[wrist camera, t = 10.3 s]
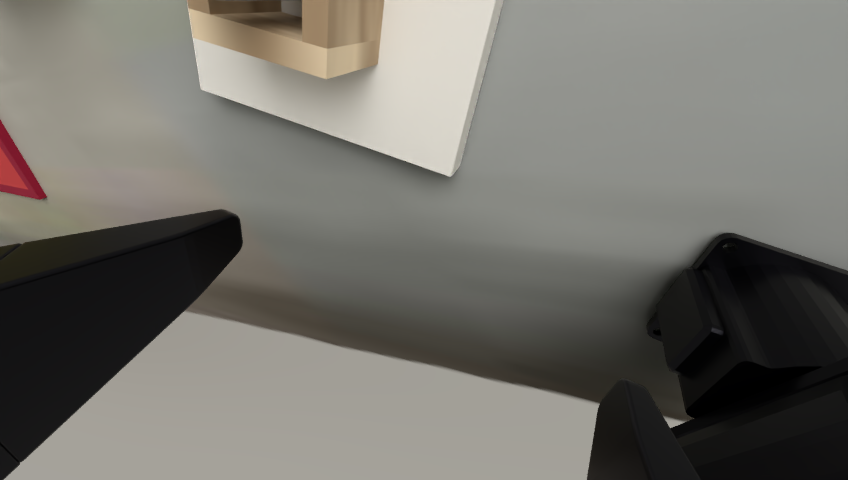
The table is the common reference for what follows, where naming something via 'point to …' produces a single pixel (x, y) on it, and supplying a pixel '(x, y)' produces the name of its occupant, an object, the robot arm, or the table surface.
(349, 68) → the collar
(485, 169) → the table surface
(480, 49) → the post plate
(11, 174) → the red board with handle
